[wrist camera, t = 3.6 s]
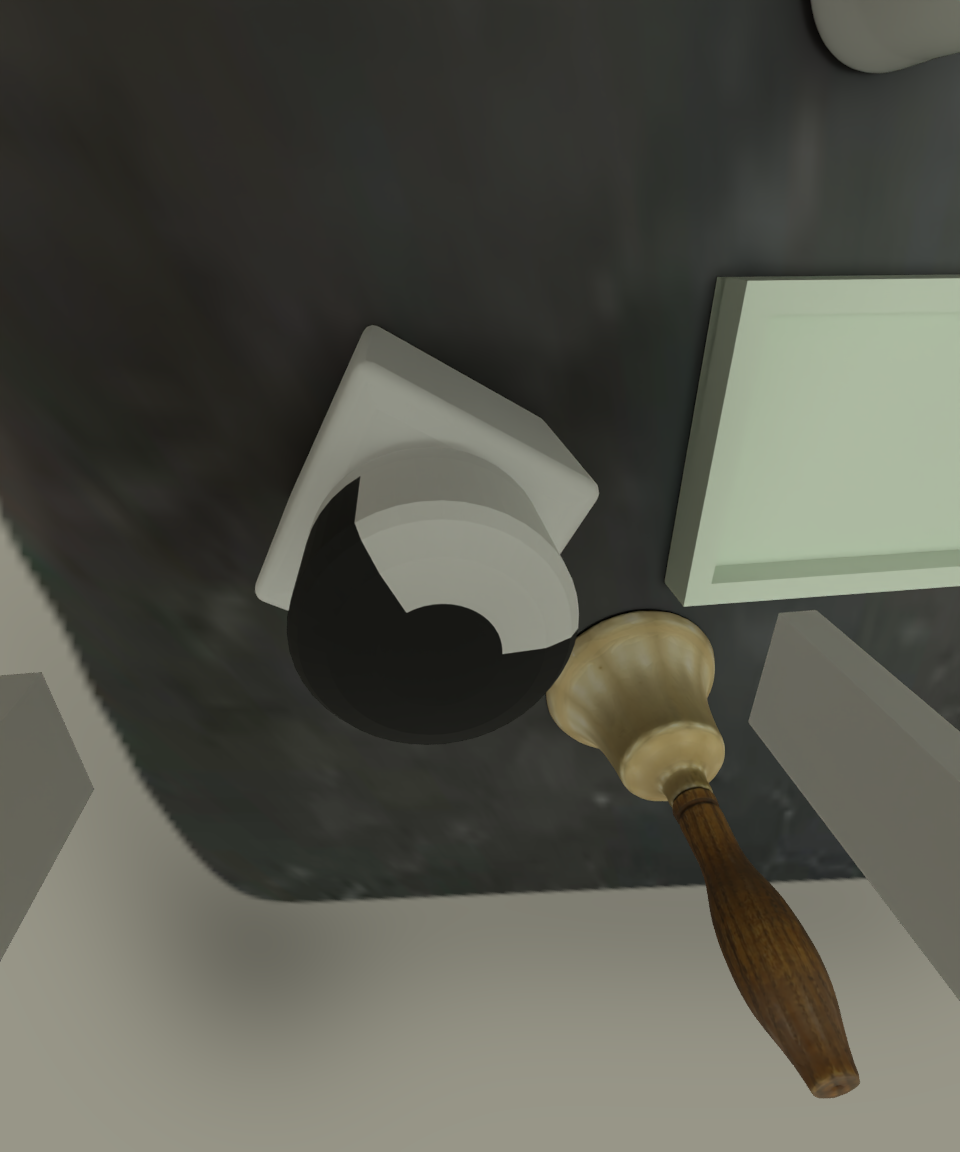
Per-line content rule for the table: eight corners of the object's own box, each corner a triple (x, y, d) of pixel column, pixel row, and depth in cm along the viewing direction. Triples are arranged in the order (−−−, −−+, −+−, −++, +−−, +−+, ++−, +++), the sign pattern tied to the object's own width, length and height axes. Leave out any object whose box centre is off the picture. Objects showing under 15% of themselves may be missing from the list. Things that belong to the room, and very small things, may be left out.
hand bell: (652, 759, 32) (852, 1156, 18) (516, 722, 29) (627, 1153, 15) (746, 638, 29) (1078, 1012, 15) (601, 585, 26) (839, 978, 12)
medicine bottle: (455, 573, 25) (502, 816, 14) (287, 500, 22) (197, 730, 12) (547, 420, 22) (686, 583, 12) (368, 319, 20) (342, 411, 9)
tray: (717, 277, 20) (747, 280, 19) (1150, 272, 22) (1214, 275, 20) (664, 582, 26) (683, 606, 24) (1009, 557, 28) (1050, 579, 26)
